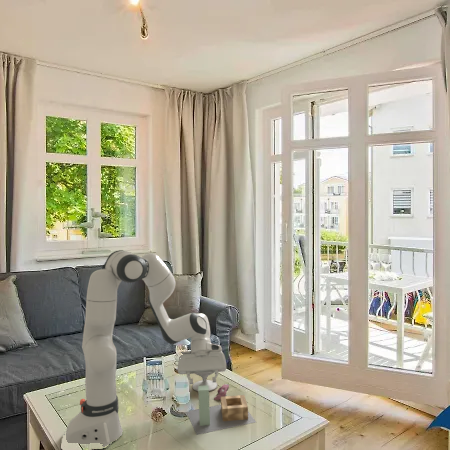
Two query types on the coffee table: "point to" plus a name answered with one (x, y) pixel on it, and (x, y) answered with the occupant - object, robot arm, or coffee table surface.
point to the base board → (215, 421)
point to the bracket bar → (204, 405)
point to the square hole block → (234, 408)
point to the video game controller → (222, 392)
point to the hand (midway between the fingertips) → (202, 382)
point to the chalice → (204, 382)
